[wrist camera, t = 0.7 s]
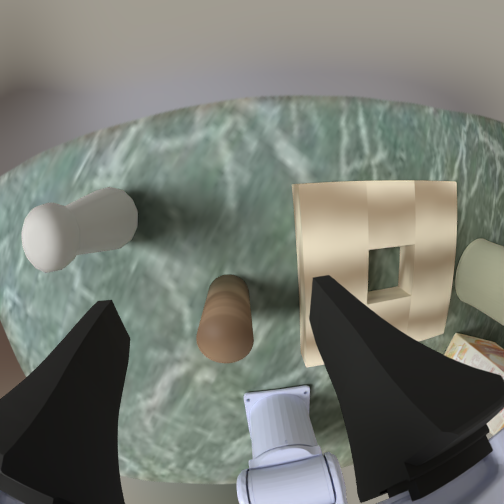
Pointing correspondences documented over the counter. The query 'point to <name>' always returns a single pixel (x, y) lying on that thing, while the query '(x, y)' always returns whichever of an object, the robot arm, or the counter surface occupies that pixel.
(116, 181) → the counter surface
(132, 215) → the salt shaker
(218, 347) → the peg
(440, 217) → the socket block
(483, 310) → the can
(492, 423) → the coffeecake box
